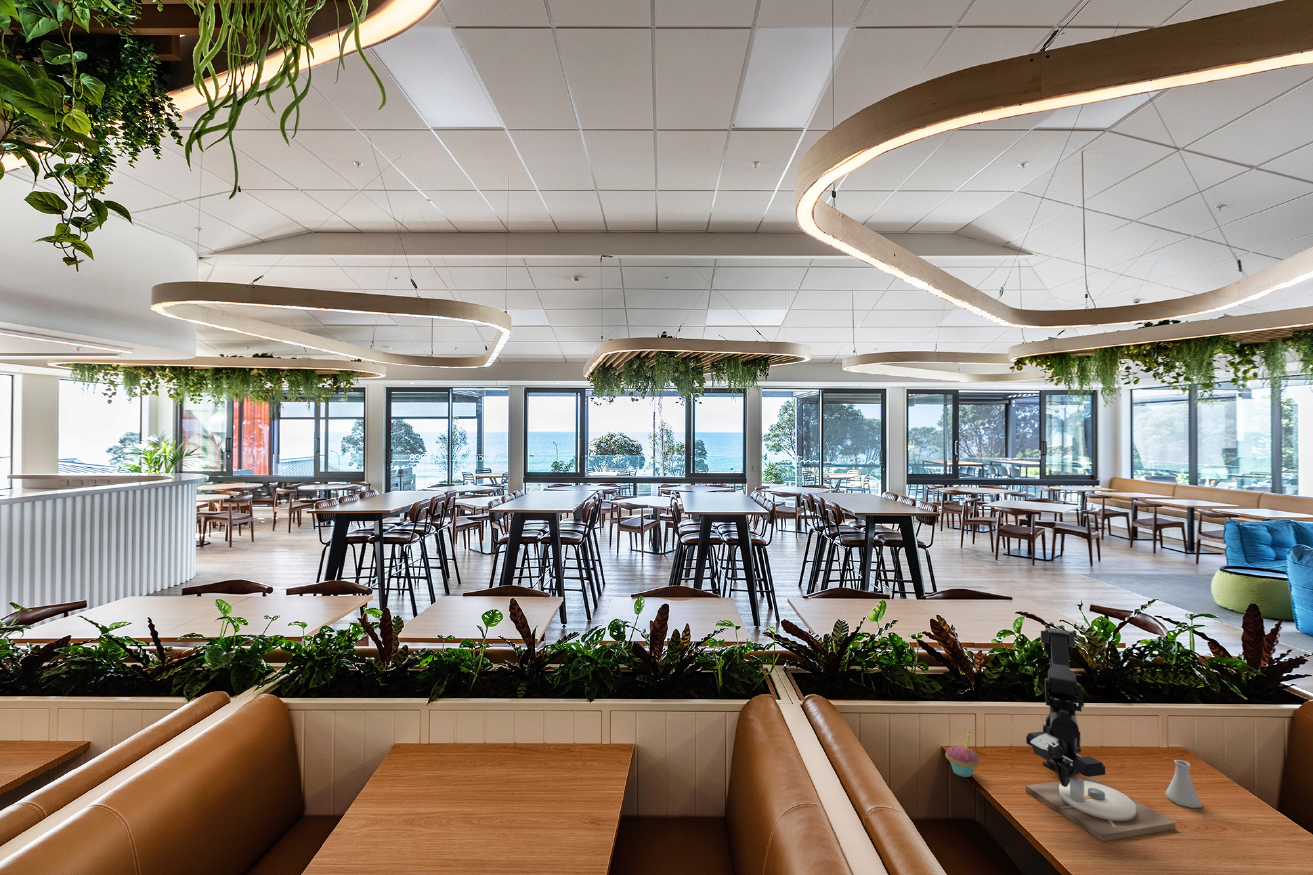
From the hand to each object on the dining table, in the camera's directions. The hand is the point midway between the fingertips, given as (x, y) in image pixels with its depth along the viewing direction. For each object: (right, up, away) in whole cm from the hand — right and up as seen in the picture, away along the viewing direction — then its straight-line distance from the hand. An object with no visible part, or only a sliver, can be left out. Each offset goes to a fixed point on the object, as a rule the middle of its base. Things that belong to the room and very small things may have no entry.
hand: (1064, 786), depth 157 cm
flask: (+33, -5, +2) cm, 33 cm away
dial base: (+7, -5, -2) cm, 8 cm away
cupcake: (-19, -5, +15) cm, 25 cm away
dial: (+7, -3, -2) cm, 8 cm away
